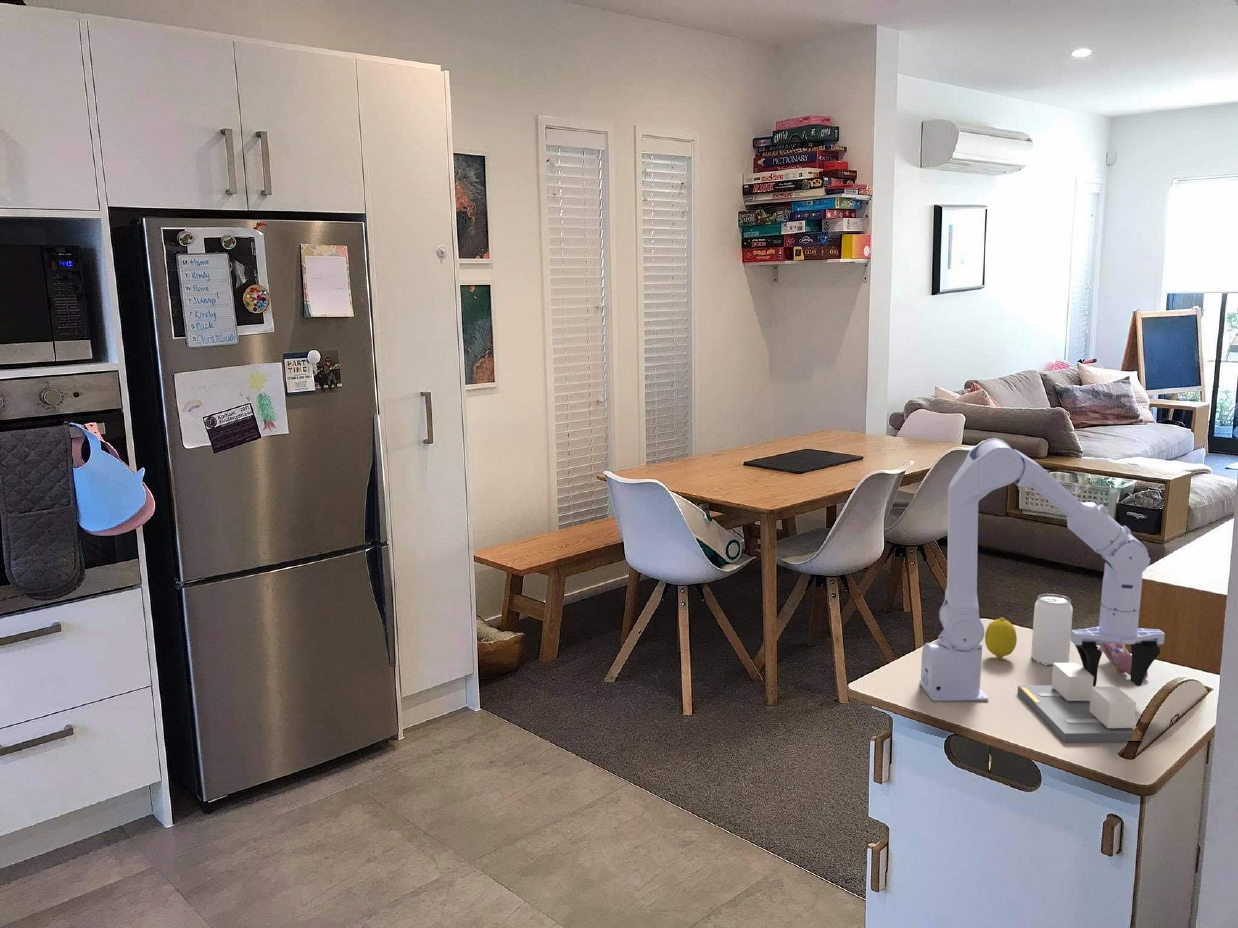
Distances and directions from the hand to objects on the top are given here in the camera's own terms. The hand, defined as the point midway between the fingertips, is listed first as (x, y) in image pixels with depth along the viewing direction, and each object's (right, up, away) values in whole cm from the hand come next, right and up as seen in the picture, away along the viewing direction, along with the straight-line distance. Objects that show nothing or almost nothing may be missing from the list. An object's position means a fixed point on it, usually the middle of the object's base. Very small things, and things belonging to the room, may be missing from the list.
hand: (1113, 683), depth 163 cm
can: (-2, 0, +19) cm, 19 cm away
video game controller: (+9, -1, +14) cm, 17 cm away
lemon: (-11, 0, +20) cm, 23 cm away
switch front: (-5, -3, -10) cm, 11 cm away
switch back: (-7, -2, 0) cm, 7 cm away
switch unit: (-8, -4, -4) cm, 10 cm away
